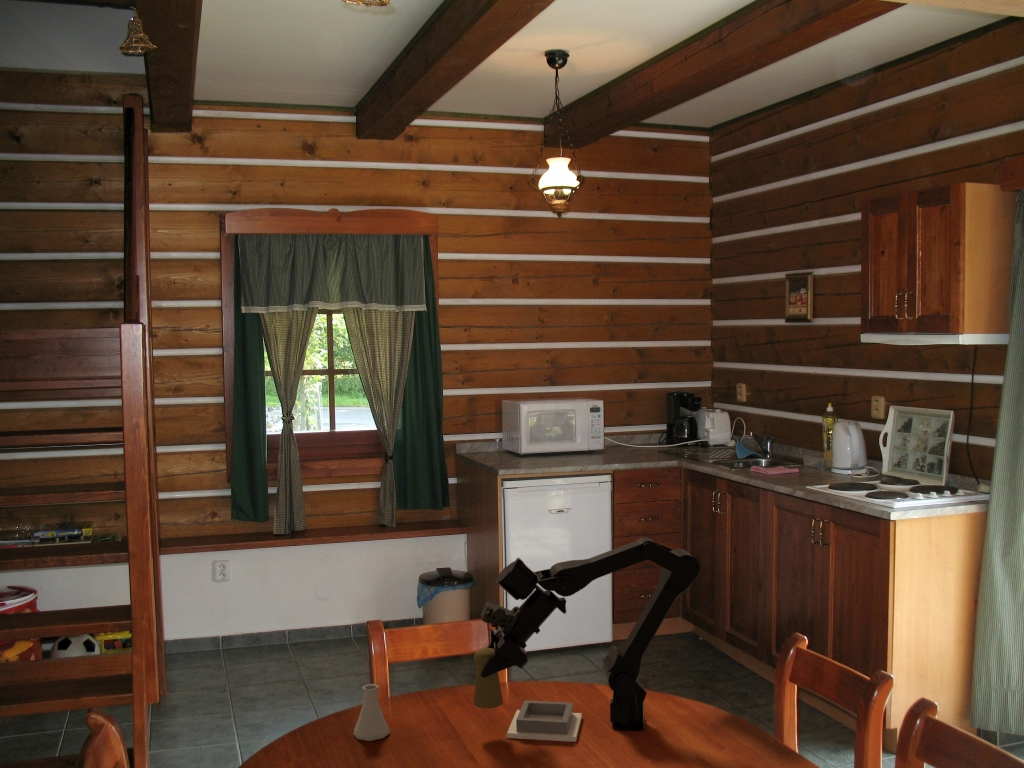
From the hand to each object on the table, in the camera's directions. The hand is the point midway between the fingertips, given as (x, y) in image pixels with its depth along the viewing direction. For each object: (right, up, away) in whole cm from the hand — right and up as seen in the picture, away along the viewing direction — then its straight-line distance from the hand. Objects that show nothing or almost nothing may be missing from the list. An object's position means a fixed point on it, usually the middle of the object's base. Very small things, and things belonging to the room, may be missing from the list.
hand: (480, 671), depth 189 cm
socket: (+13, -13, +3) cm, 19 cm away
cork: (+2, -7, 0) cm, 7 cm away
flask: (-22, -14, +1) cm, 26 cm away
